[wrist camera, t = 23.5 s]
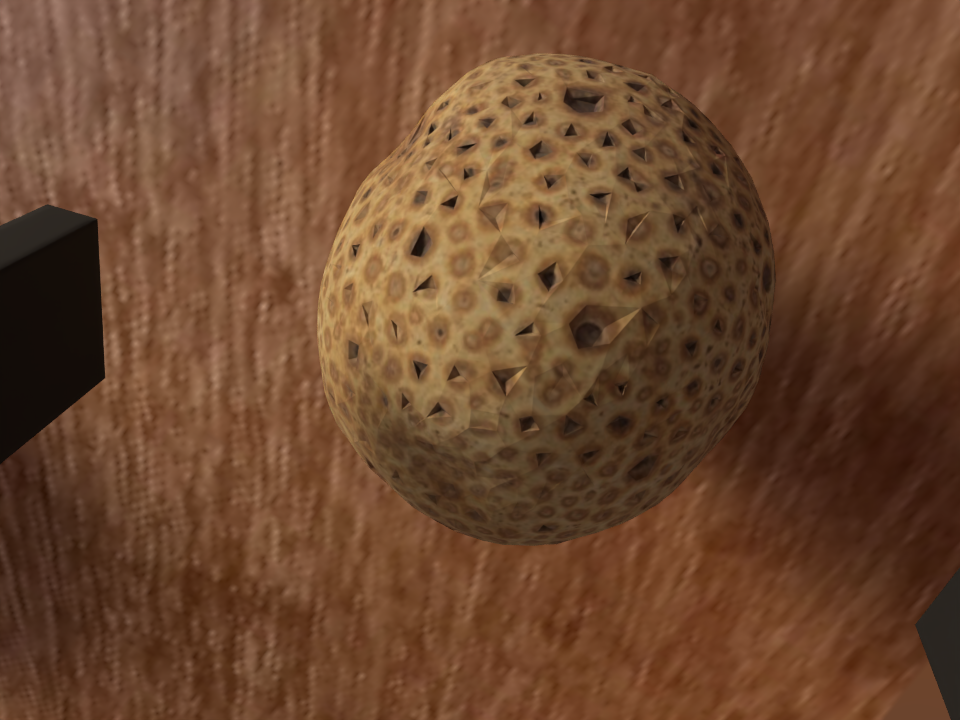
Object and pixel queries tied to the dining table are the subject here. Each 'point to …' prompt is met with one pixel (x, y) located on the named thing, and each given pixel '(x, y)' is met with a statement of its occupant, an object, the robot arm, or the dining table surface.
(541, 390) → the natural sponge
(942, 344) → the dining table surface
